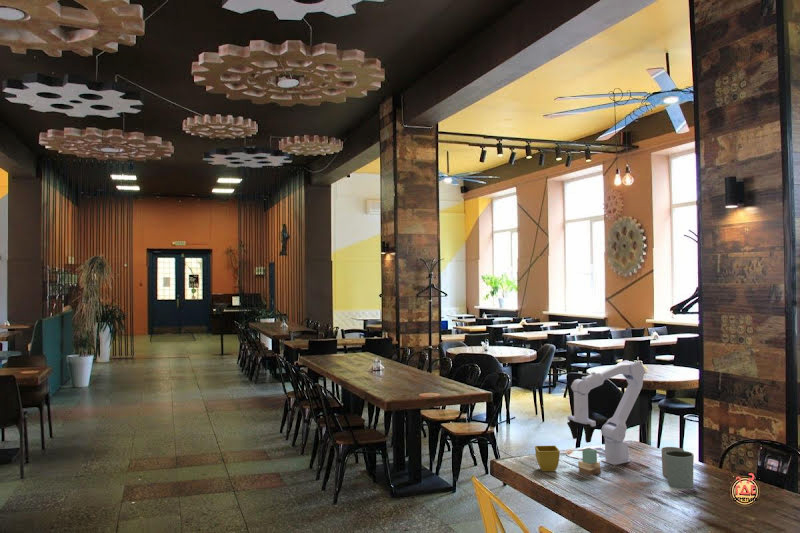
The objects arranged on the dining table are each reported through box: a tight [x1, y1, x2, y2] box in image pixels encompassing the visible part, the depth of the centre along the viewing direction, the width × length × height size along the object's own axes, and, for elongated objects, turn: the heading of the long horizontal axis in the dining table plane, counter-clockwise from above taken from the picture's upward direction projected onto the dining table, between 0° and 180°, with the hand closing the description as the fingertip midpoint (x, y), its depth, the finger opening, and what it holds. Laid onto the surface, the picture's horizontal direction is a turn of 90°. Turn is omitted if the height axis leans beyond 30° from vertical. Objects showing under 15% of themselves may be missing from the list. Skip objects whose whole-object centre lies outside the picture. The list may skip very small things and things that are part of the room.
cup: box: [661, 446, 685, 478], centre depth 262 cm, size 8×8×10 cm
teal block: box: [581, 447, 598, 464], centre depth 269 cm, size 4×4×5 cm
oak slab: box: [577, 459, 601, 470], centre depth 269 cm, size 6×6×2 cm
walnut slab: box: [578, 467, 602, 476], centre depth 269 cm, size 6×6×2 cm
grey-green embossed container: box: [665, 450, 695, 490], centre depth 249 cm, size 10×10×12 cm
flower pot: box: [534, 445, 561, 472], centre depth 273 cm, size 9×9×9 cm
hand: (581, 440), depth 279 cm, fingers open, 7 cm apart
